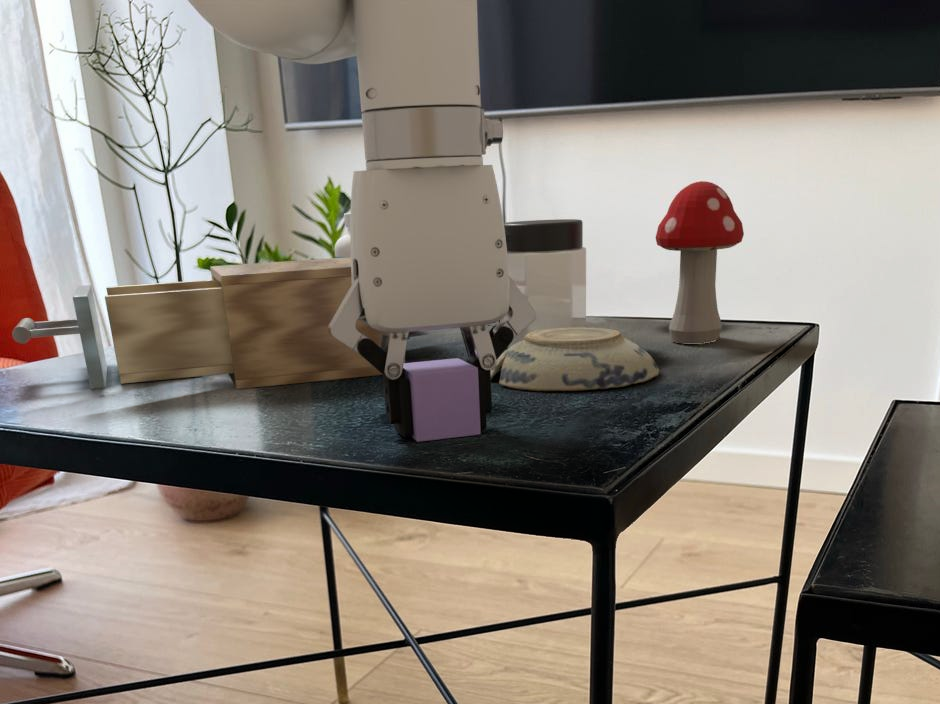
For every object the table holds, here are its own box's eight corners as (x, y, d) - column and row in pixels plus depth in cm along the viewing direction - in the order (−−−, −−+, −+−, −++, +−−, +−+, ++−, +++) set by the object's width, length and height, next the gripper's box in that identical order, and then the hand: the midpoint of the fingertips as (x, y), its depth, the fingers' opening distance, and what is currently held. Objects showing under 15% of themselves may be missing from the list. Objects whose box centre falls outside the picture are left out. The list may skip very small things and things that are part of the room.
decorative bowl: (695, 374, 88) (581, 354, 99) (697, 330, 86) (581, 315, 98) (562, 403, 80) (455, 377, 91) (562, 355, 79) (453, 335, 90)
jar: (523, 338, 111) (520, 220, 106) (594, 340, 108) (594, 218, 103) (490, 351, 104) (485, 225, 99) (565, 353, 100) (564, 223, 96)
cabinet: (236, 389, 91) (220, 275, 87) (224, 368, 101) (210, 266, 98) (406, 372, 95) (398, 263, 91) (376, 353, 106) (368, 255, 102)
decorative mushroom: (661, 333, 110) (665, 182, 104) (742, 333, 108) (751, 178, 102) (644, 347, 102) (648, 184, 96) (732, 348, 99) (742, 180, 93)
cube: (417, 442, 69) (412, 374, 68) (401, 428, 73) (396, 363, 72) (481, 434, 71) (478, 367, 69) (461, 421, 75) (458, 357, 73)
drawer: (23, 398, 86) (1, 302, 83) (33, 376, 96) (14, 290, 93) (260, 375, 91) (248, 284, 88) (247, 357, 101) (236, 275, 98)
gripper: (527, 141, 70) (533, 407, 77) (281, 150, 65) (313, 431, 73) (569, 136, 63) (570, 426, 71) (299, 146, 59) (331, 455, 66)
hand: (440, 426), depth 72 cm, fingers closed on cube, 4 cm apart
